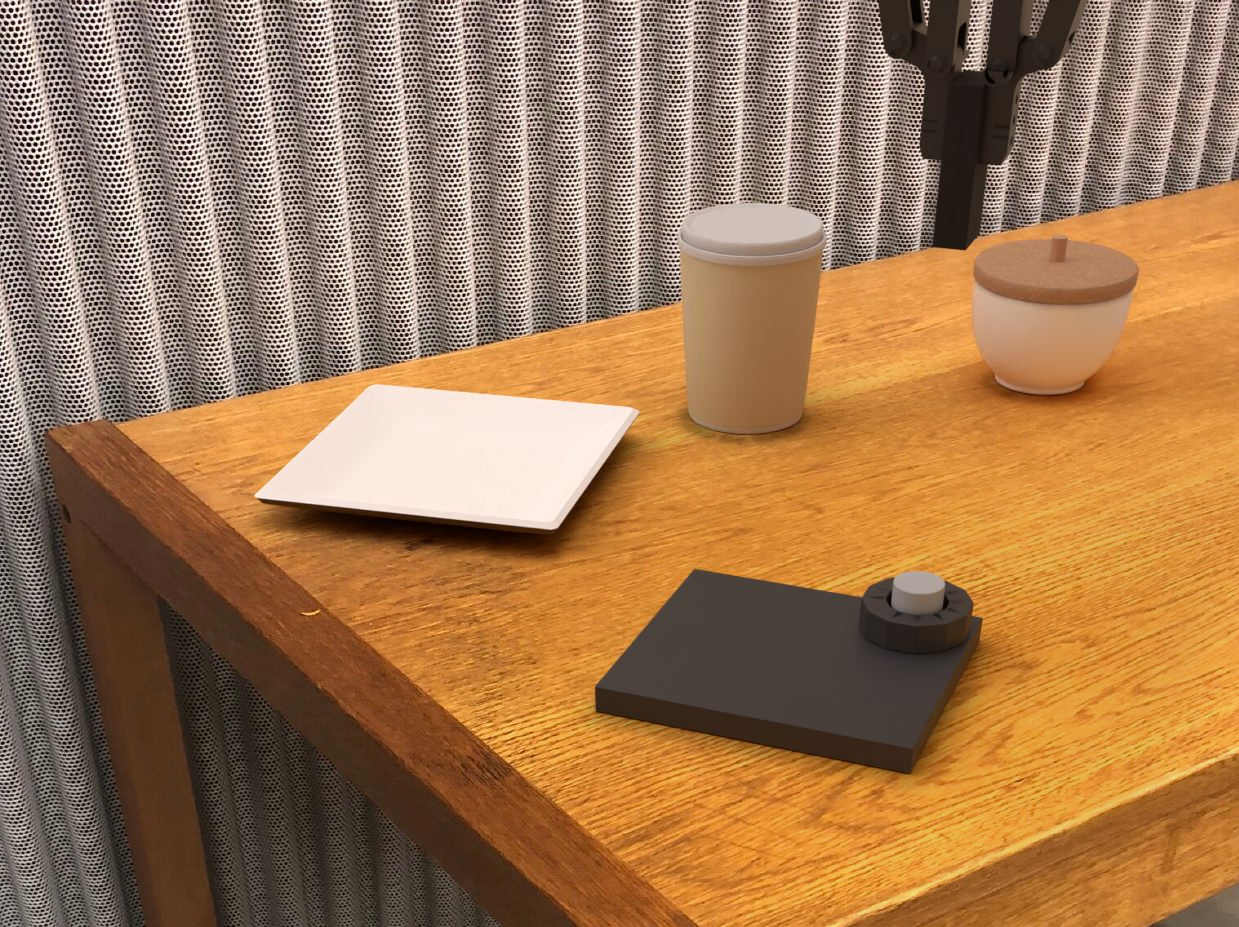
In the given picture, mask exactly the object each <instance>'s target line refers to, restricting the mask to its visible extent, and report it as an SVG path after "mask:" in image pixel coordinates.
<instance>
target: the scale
mask: <svg viewBox="0 0 1239 927" xmlns="http://www.w3.org/2000/svg"><path fill="white" fill-rule="evenodd" d="M895 577H896V576H893V577H888V578H884V579H882V580H879V581H877V582H875V583H873V584H870V585H869V586H868V587H867V589H866V590H865V592H864V593H863V595H862V596H858V595H852V594H846V593H841V592H834V591H828V590H822V589H816V588H810V587H805V586H799V585H793V584H787V583H781V582H775V581H770V580H763V579H759V578H752V577H746V576H741V575H733V574H729V573H728V574H727V573H722V572H716V571H710V570H705V569H697V568H693V569H692V571H691V572H690V573H689V574H688V575H687V576H686V578H685V579H684V580H683V582H681V584H680V585H679V586H678V587H677V589H676V590H675V591H674V592H673V593H672V595H671V596H670V597H669V598H668V599H667V600H666V601H665V603H663V605H662V606H661V607H660V609H659V610H658V611H657V612H656V614H655V615H653V617H652V618H651V619H650V621H649V622H648V623H647V624H646V625H645V627H644V628H643V629H642V630H641V631H640V633H639V634H638V635H637V636H636V637H635V638H634V640H633V641H632V642H631V643H630V645H629V646H627V648H625V650H624V652H623V653H622V654H621V655H620V656H619V657H618V659H617V660H616V661H615V662H614V663H613V665H611V667H610V668H609V669H608V670H607V672H606V673H605V674H604V675H603V676H602V678H601V679H600V680H599V681H598V682H597V684H596V685H595V686H594V700H595V702H594V703H595V704H594V706H595V711H596V712H600V713H604V714H610V715H615V716H618V717H619V716H620V717H624V718H630V719H634V720H639V721H643V722H644V721H645V722H649V723H655V724H659V725H664V726H670V727H673V728H674V727H675V728H680V729H684V730H690V731H694V732H699V733H705V734H710V735H715V736H720V737H725V738H730V739H735V740H739V741H745V742H749V743H754V744H758V745H759V744H760V745H764V746H771V747H774V748H780V749H785V750H790V751H795V752H799V753H804V754H810V755H815V756H818V757H824V758H829V759H834V760H839V761H844V762H849V763H855V764H859V765H864V766H865V765H866V766H870V767H875V768H879V769H880V768H881V769H884V770H889V771H896V772H900V773H903V774H904V773H905V774H911V773H912V771H913V769H914V767H915V766H916V764H917V762H918V760H919V757H920V756H921V754H922V752H923V750H924V748H925V746H926V744H927V742H928V741H929V739H930V736H931V735H932V733H933V731H934V729H935V728H936V726H937V723H938V721H939V719H940V717H941V716H942V714H943V712H944V710H945V708H946V706H947V705H948V702H949V700H950V699H951V697H952V695H953V693H954V691H955V689H956V687H957V685H958V683H959V681H960V679H961V677H962V676H963V674H964V672H965V670H966V667H967V666H968V664H969V662H970V660H971V659H972V657H973V655H974V653H975V651H976V649H977V647H978V646H979V645H978V644H979V643H980V641H981V635H982V633H981V632H982V627H983V620H984V619H983V617H981V616H977V615H973V612H974V605H975V604H974V601H973V599H972V598H971V596H970V595H969V593H968V592H967V590H965V588H962V587H960V586H958V585H956V584H954V583H952V582H949V581H948V580H944V582H945V591H944V600H943V608H942V610H941V611H940V612H937V613H935V614H923V615H914V614H908V613H903V612H900V611H898V610H896V609H894V608H892V606H891V600H892V590H893V581H894V579H895Z"/></svg>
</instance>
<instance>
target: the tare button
mask: <svg viewBox="0 0 1239 927" xmlns="http://www.w3.org/2000/svg"><path fill="white" fill-rule="evenodd" d="M894 577H895V579H894V581H893V590H892V600H891V606H892V608H894V609H896V610H898V611H900V612H903V613H908V614H914V615H923V614H935V613H937V612H940V611H941V610H942V608H943V600H944V591H945V582H944V581H945V579H943V577H941V576H939V575H938V574H935V573H933V572H929V571H922V570H911V571H904V572H901V573H899V574H897V575H896V576H894Z"/></svg>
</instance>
